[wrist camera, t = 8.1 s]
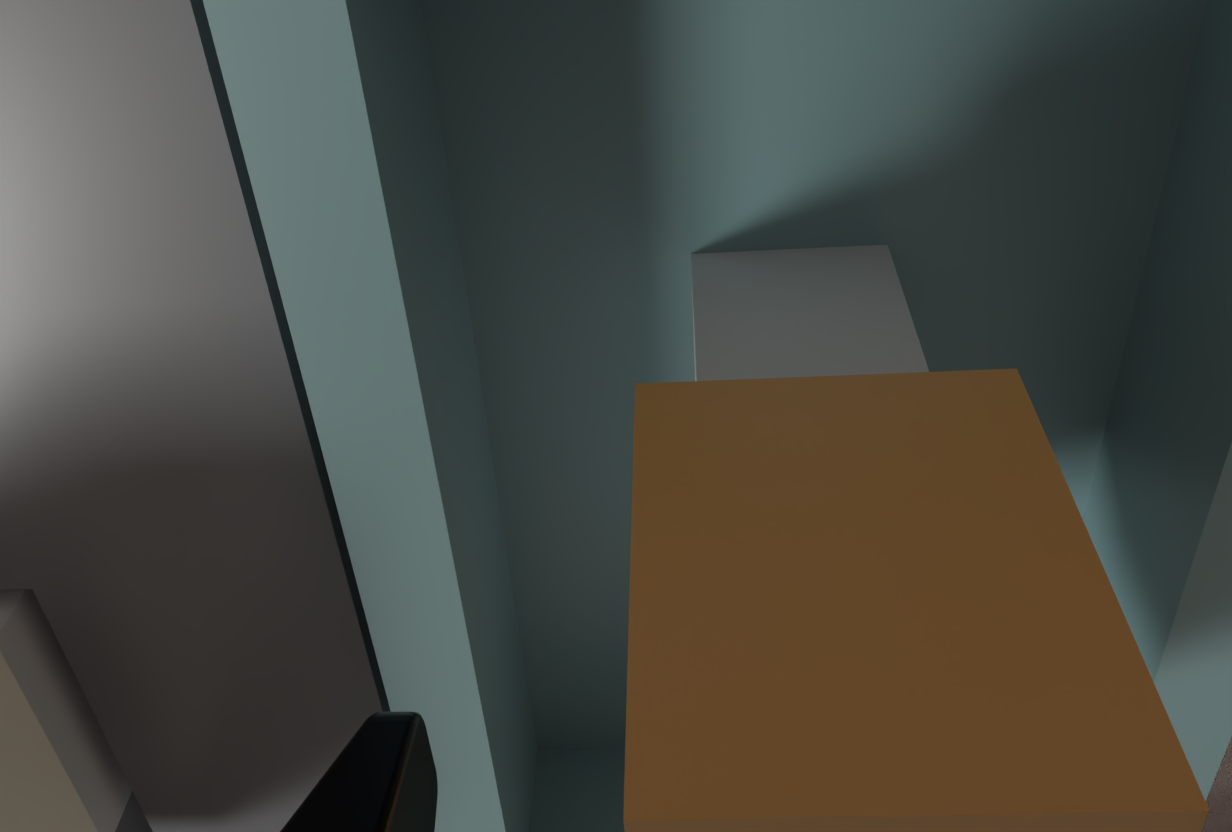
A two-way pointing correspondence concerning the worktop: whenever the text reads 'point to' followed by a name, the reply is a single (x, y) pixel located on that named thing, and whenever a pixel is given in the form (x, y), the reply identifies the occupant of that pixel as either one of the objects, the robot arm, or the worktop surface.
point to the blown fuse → (869, 586)
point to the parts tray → (663, 311)
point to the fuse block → (164, 425)
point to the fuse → (49, 734)
